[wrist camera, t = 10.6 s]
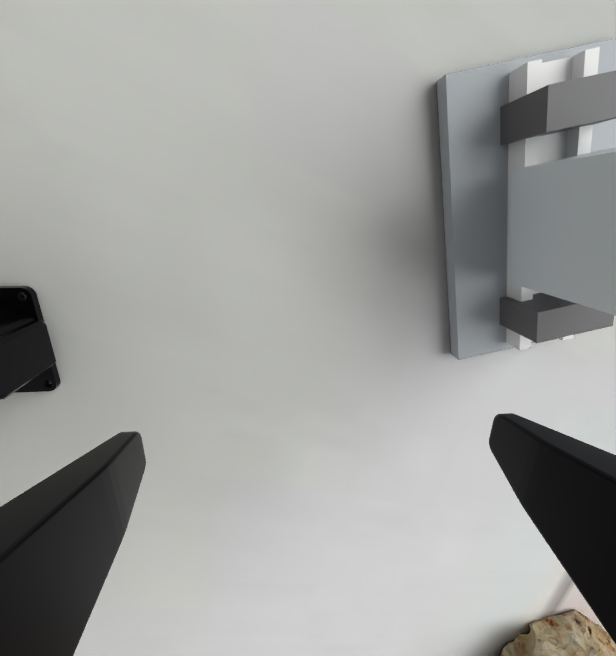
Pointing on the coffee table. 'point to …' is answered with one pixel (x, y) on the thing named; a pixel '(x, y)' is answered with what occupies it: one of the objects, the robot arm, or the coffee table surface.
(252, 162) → the coffee table surface
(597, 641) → the rock
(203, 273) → the coffee table surface
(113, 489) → the robot arm
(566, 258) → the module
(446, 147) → the rail
